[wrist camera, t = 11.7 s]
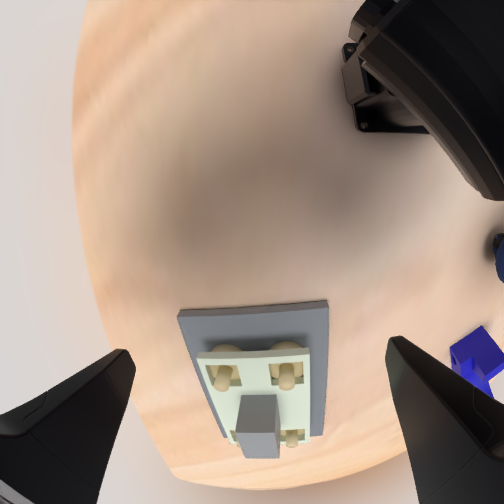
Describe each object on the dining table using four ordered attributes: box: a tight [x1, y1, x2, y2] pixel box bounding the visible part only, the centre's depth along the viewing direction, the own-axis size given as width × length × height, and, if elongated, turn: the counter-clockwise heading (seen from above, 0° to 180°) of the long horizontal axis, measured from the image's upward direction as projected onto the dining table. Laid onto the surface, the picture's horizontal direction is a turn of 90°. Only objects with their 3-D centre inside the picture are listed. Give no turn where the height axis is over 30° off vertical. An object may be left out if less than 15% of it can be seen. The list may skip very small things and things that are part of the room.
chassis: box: [177, 301, 329, 448], centre depth 23 cm, size 12×19×4 cm, turn 8°
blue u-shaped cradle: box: [450, 326, 504, 398], centre depth 20 cm, size 12×4×6 cm, turn 32°
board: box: [196, 347, 310, 458], centre depth 20 cm, size 9×14×5 cm, turn 8°
